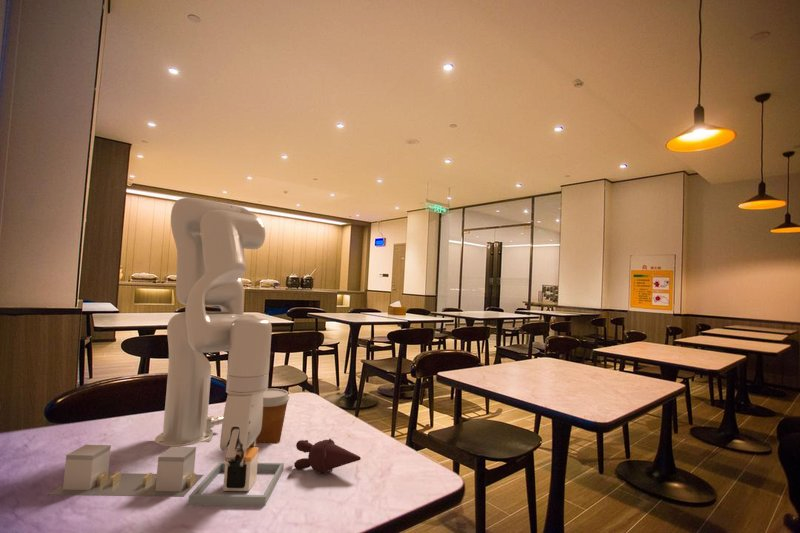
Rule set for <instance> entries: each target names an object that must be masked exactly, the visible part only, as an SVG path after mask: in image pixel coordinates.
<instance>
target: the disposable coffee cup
mask: <svg viewBox="0 0 800 533" xmlns="http://www.w3.org/2000/svg"><path fill="white" fill-rule="evenodd" d="M263 395H264V396H263V419H262V428H261V432H260V434H259V435H258V437H257V438H256V444H268V445H270V444H273V445H274V444H275V445H278V444H279V443H280V442H281V437H282V432H283V428H284V421H285V417H286V416H285V415H286V411H287V406H288V402H289V400H290V398H291V397H290V396H289V392H288V391H287V390H286V389H282V388H281V389H280V388H268V390H267V391H266V392H263Z"/></svg>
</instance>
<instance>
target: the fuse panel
mask: <svg viewBox="0 0 800 533" xmlns="http://www.w3.org/2000/svg"><path fill="white" fill-rule="evenodd" d="M202 477H204V474H197V473H194V474H192V475H191V476H190V477H189V478H188V479H187V486H186V487H185V488H184V489H183V490H182V491H155V489H156V478H157V473H153V472H149V473H135V472H134V473H131V472H130V473H128V472H127V473H125V472H119V471H118V472H109V471H108V472H105V473H103V474H102V475H100V476H99V477H98V479H97V485H96V486H95V487H93V488H92V489H90V490H66V489H63V484H62V485H60V486H59V487H58V488H55V489H54V490H52V491H51V492H49V493H48V494H47V495H49V496H51V495H53V496H105V497H107V496H108V497H109V496H113V497H114V496H116V497H117V496H118V497H119V496H120V497H172V498H173V497H175V498H176V497H181V498H182V497H183V498H184V497H185V496H186V494H188V493H189V491H191V489H193V488H194V486H195V485H196V484H197V483H198V482H199V481H200V480H201V478H202Z"/></svg>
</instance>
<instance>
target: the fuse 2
mask: <svg viewBox="0 0 800 533" xmlns="http://www.w3.org/2000/svg"><path fill="white" fill-rule="evenodd" d="M196 452H197V447H196V446H175V447H171V446H169V448H167V450H164V452H163V453H161V454H160V455H159V456H158V457H157V468H156V474H157V478H156V489H155V491H182V490H183V489H184V488H185V487H186V486H187V479H188V478H189V477H190V476H191V475H192V474H195V467H196V466H195V464H196Z"/></svg>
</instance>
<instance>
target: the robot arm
mask: <svg viewBox="0 0 800 533" xmlns="http://www.w3.org/2000/svg"><path fill="white" fill-rule="evenodd" d="M170 212H171V213H170V228H171V233H172V236H173V240H174V243H175V247H176V255H177V256H176V257H177V258H176V277H175V278H176V279H175V280H176V281H175V296H176V300H177V302H179V303H180V304H181V305H184V306H185V309H184V310H185V311H182V312H180V313H177V314H175V315H173V316H171V318H169V321H168V323H167V327H166V332H167V334H166V336H167V343H168V344H167V345H168V366H167V369H168V370H167V379H166V391H165V392H166V393H165V402H164V403H165V406H164V415H163V416H164V417H163V427H162V428H163V429H162V432H161V433H159V434H158V435H156V436H155V439H154V443H156V444H157V445H159V446H163V447H187V446H191V445H195V444H199V443H208V442H209V441H211V440H212V439H213V436H214V430H212V429H213V428H214V427H215V426H219V425H221V432H220V441H219V448H220V450H222V451H224V450H226V449H227V451H226V454H225V459H227V460H228V464H227V466H228V471H227V485H226V486H227V488H244V486H245V481H246V467H247V464H245V458H246V451H247V448H248V447H257V443H256V438H257V437H258V435H259V434H260V432H261V428H262V419H263V396H264V395H263V392H266V391H267V390H268V389H269V377H270V376H269V374H270V373H269V372H270V360H271V358H270V357H271V348H272V347H271V346H272V345H271V344H272V332H273V331H272V330H273V327H272V323H271V321H270V320H268V318H261V317H258V316H256V315H254V314H247V313H244V309H245V308H244V307H245V306H244V303H245V299H244V298H245V296H244V295H245V292H244V290H245V289H244V283H243V280H242V278H243V276H245V275H246V273H247V269H248V268H247V263H246V257H245V251H244V249H247V250H259V248H261V247H262V246H263V245H264V243H265V238H266V229H265V225H264V222H263V221H262V219H261V218H260V217H259V216H258V215H257V214H255V213H253V212H251V211H250V210H248V209H246V208H245V207H241V206H239V205H235V204H230V203H228V204H227V203H225V202H220V201H219V202H218V201H214V200H208V199H205V198H199V197H198V198H197V197H184V198H183V197H182V198H179V199H178V200H176V201H174V204H173V206H172V209H171V211H170ZM206 307H219V308H220V311H210V310H209V311H208V310H206ZM220 352H221V353H222V352H228V360H227V369H226V370H227V371H226V372H227V374H226V387H225V392H226V393H227V397H226V401H225V406H224V410H223V415H220V416H217V417H215V416H214V415H211V416H209V405H210V404H209V403H210V391H211V390H210V389H211V380H212V379H211V376H212V365H211V363H210V361H209V359H208V358H207V357H206V355H205V354H207V353H220ZM238 445H239V446H238ZM236 452H242V453H241V457H240V455H237V453H236Z"/></svg>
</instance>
